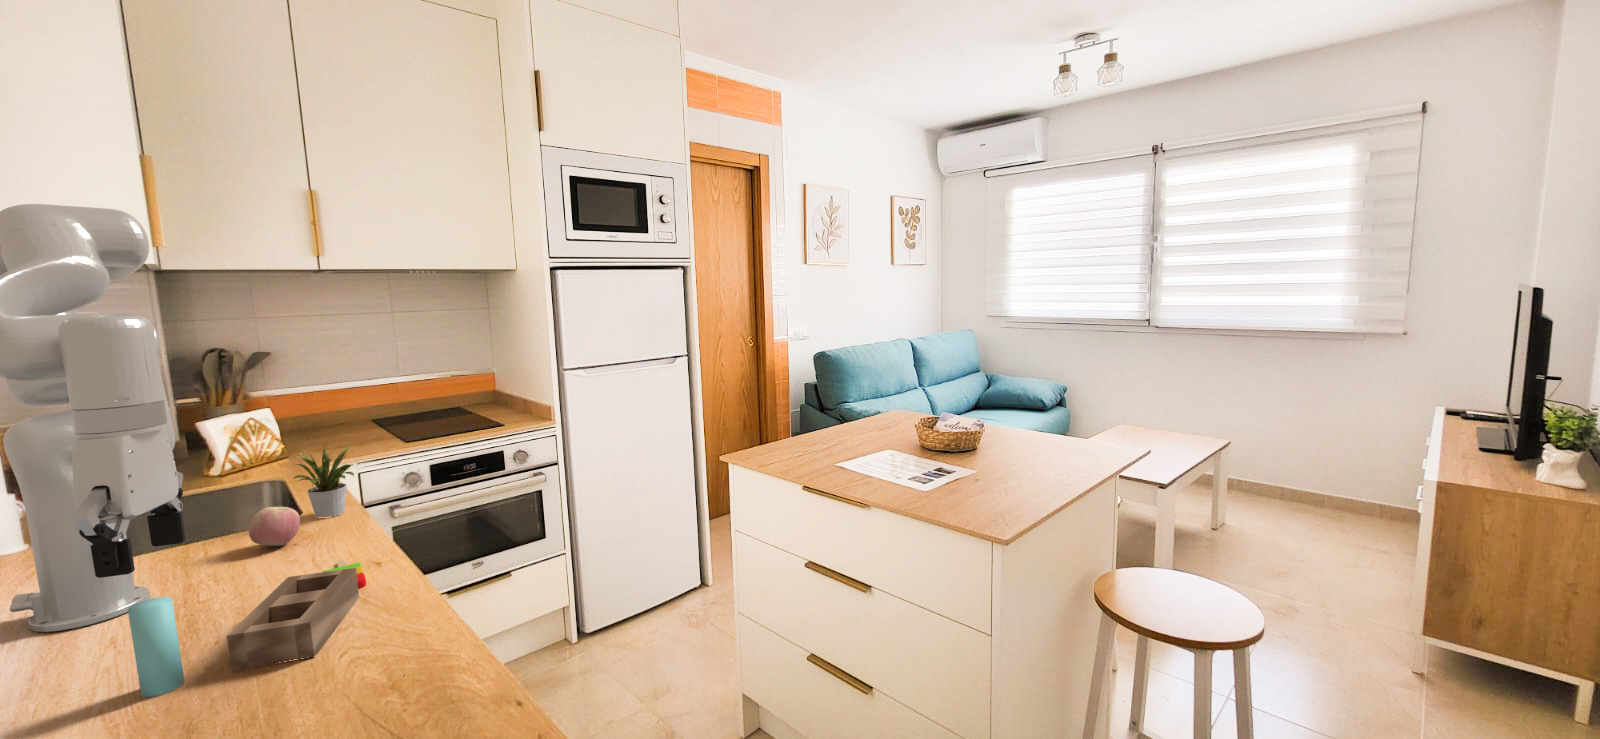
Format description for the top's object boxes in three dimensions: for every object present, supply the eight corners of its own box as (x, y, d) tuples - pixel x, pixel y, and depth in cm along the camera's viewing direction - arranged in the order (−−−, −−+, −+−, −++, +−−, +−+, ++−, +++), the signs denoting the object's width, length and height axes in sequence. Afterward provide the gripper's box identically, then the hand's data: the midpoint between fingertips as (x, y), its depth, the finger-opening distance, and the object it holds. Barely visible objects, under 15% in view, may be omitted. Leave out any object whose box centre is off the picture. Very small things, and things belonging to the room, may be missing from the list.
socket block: (231, 671, 81) (226, 635, 81) (292, 607, 98) (288, 577, 98) (314, 657, 84) (310, 622, 84) (359, 597, 101) (355, 567, 101)
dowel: (133, 700, 76) (119, 614, 75) (153, 682, 80) (140, 599, 78) (173, 693, 77) (160, 608, 76) (191, 675, 81) (179, 594, 79)
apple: (293, 551, 121) (288, 511, 120) (243, 557, 118) (238, 516, 117) (309, 536, 128) (304, 498, 127) (263, 542, 126) (258, 503, 125)
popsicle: (326, 600, 102) (325, 588, 101) (321, 570, 113) (320, 559, 113) (367, 589, 105) (366, 578, 105) (359, 561, 117) (358, 551, 116)
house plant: (279, 533, 130) (269, 456, 128) (284, 515, 141) (275, 444, 139) (363, 517, 138) (355, 445, 136) (361, 501, 149) (354, 434, 148)
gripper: (130, 411, 81) (150, 538, 83) (17, 437, 65) (45, 595, 67) (203, 406, 84) (220, 530, 86) (111, 430, 67) (135, 583, 69)
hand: (143, 558), depth 76 cm, fingers open, 9 cm apart
